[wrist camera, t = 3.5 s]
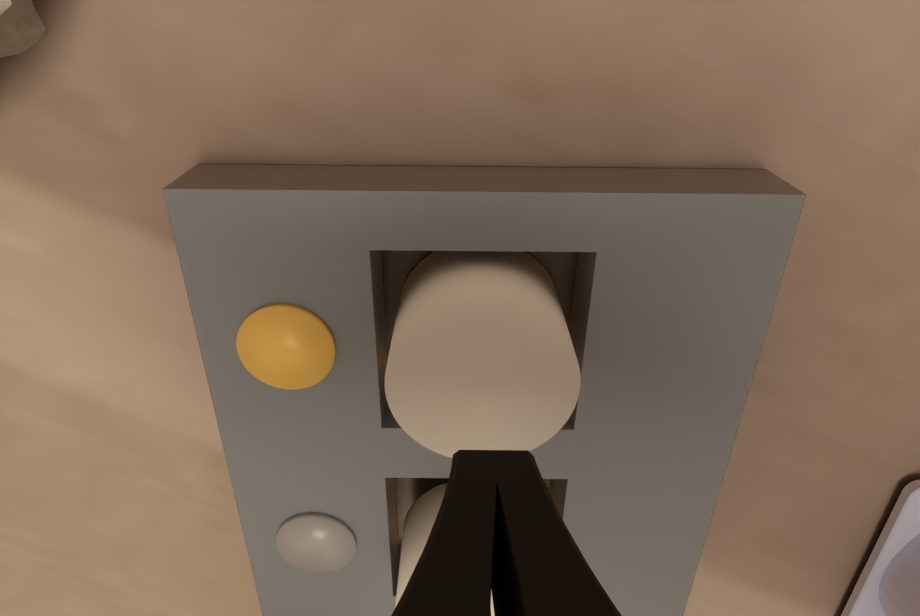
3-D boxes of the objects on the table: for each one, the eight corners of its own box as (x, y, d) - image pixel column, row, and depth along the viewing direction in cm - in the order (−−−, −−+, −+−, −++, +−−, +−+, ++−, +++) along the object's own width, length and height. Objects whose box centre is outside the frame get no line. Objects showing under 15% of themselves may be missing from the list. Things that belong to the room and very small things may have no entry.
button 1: (566, 239, 16) (591, 302, 13) (552, 380, 18) (570, 462, 15) (394, 238, 16) (378, 300, 13) (401, 379, 18) (388, 460, 15)
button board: (765, 169, 15) (810, 197, 13) (634, 684, 25) (648, 742, 24) (198, 164, 15) (158, 191, 13) (302, 682, 25) (289, 740, 24)
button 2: (551, 479, 18) (568, 580, 15) (540, 578, 20) (553, 685, 17) (400, 477, 18) (388, 579, 15) (406, 577, 20) (396, 683, 17)
